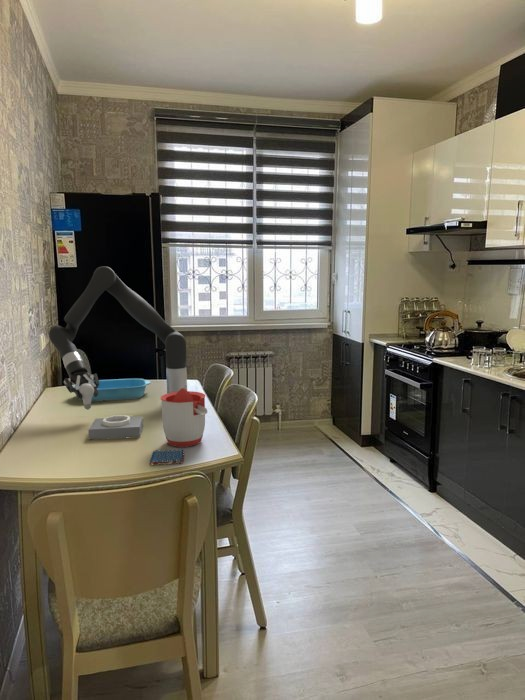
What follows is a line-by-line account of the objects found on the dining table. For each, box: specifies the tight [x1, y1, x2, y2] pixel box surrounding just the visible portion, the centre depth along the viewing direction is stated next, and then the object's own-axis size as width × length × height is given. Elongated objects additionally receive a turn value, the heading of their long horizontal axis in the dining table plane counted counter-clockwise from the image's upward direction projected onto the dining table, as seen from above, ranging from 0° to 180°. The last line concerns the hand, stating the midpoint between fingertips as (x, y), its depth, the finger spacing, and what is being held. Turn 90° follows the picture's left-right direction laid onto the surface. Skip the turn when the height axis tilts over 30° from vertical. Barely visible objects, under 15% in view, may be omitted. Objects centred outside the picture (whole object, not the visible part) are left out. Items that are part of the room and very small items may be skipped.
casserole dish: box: [72, 378, 151, 402], centre depth 244 cm, size 37×22×7 cm, turn 106°
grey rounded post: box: [79, 383, 94, 411], centre depth 201 cm, size 6×6×11 cm
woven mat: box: [149, 449, 185, 466], centre depth 160 cm, size 10×11×2 cm
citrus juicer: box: [160, 388, 208, 448], centre depth 174 cm, size 16×17×20 cm
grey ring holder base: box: [88, 414, 144, 440], centre depth 187 cm, size 18×14×6 cm
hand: (88, 397), depth 200 cm, fingers closed on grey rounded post, 6 cm apart
